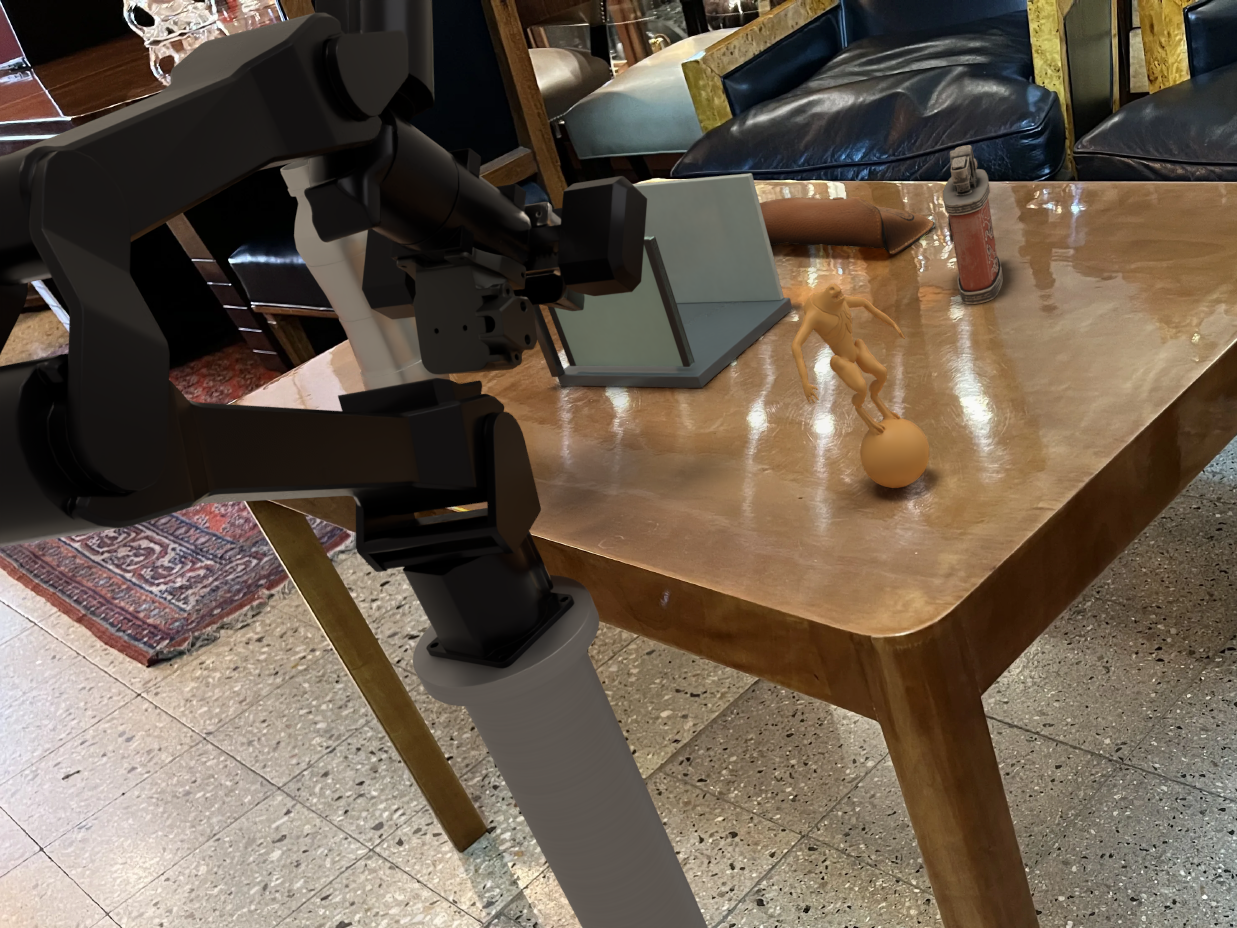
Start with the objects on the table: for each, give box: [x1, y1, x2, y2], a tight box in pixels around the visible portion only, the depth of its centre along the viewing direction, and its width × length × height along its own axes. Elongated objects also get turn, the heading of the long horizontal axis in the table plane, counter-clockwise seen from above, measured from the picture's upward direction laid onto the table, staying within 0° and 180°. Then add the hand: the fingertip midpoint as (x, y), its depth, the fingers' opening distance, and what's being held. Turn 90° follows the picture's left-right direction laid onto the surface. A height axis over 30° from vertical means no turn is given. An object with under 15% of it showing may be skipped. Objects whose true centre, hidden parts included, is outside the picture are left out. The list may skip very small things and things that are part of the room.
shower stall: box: [533, 173, 793, 389], centre depth 92 cm, size 14×14×11 cm
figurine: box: [790, 282, 930, 489], centre depth 66 cm, size 8×6×12 cm
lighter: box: [942, 144, 1004, 305], centre depth 89 cm, size 8×3×10 cm, turn 172°
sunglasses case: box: [759, 196, 936, 255], centre depth 107 cm, size 18×7×7 cm, turn 52°
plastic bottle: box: [280, 159, 451, 391], centre depth 91 cm, size 6×7×20 cm
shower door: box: [546, 236, 695, 367], centre depth 88 cm, size 1×12×10 cm, turn 62°
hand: (579, 303), depth 79 cm, fingers closed
